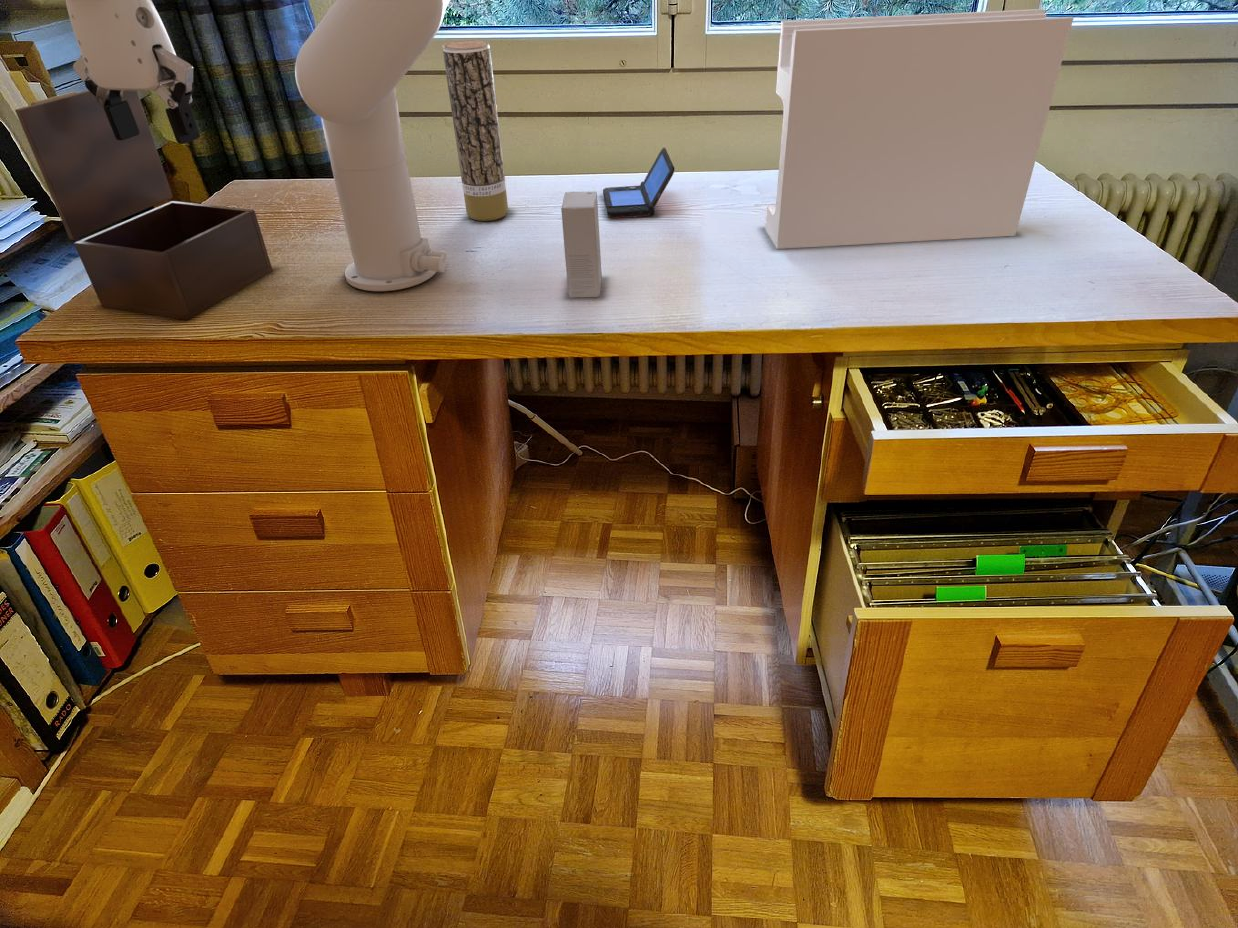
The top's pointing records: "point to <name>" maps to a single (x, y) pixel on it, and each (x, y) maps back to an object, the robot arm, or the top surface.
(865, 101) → the block
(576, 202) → the cosmetic box
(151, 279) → the keepsake box
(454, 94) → the paper tube
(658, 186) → the handheld game console
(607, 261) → the top surface
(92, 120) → the lid
